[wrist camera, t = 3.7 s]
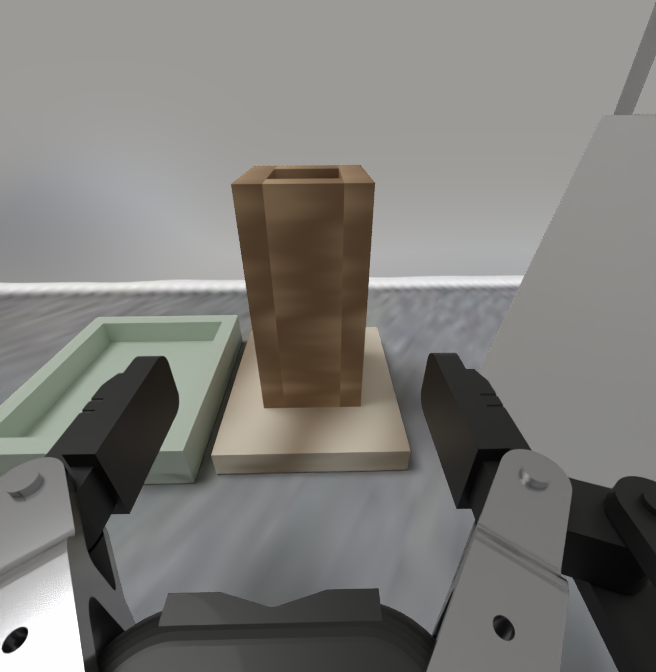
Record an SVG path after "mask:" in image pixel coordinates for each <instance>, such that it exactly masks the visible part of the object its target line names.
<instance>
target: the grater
mask: <svg viewBox="0 0 656 672" xmlns="http://www.w3.org/2000/svg"><path fill="white" fill-rule="evenodd" d="M655 56H656V3H655V6H654V9H653V11H652V14H651V16H650V19H649V22H648V25H647V27H646V30H645V32H644V35H643V38H642V40H641V43H640V46H639V48H638V51H637V54H636V56H635V59H634V62H633V64H632V67H631V70H630V72H629V75H628V78H627V80H626V83H625V86H624V89H623V91H622V94H621V96H620V99H619V102H618V104H617V107H616V110H615V112H614V115H602V116H601V118H600V120H599V122H598V124H597V126H596V128H595V131H594V132H593V135H592V137H591V139H590V141H589V143H588V145H587V147H586V149H585V151H584V153H583V155H582V157H581V160H580V162H579V164H578V166H577V168H576V170H575V172H574V174H573V176H572V178H571V180H570V182H569V185H568V187H567V189H566V191H565V193H564V195H563V197H562V199H561V201H560V203H559V205H558V207H557V209H556V212H555V214H554V216H553V218H552V220H551V222H550V224H549V226H548V228H547V230H546V232H545V234H544V237H543V239H542V241H541V243H540V245H539V247H538V249H537V251H536V253H535V255H534V257H533V259H532V262H531V264H530V266H529V268H528V270H527V272H526V274H525V276H524V278H523V280H522V282H521V284H520V286H519V289H518V291H517V293H516V295H515V297H514V299H513V301H512V303H511V305H510V307H509V309H508V311H507V314H506V316H505V318H504V320H503V322H502V324H501V326H500V328H499V330H498V332H497V334H496V336H495V339H494V341H493V343H492V345H491V347H490V349H489V351H488V353H487V355H486V357H485V359H484V361H483V363H482V366H481V368H480V370H479V372H478V373H479V374H481V375H482V376H483V377H484V378H486V379H487V380H488V381H489V383H490V384H491V386H492V388H493V389H494V391H495V392H496V396H498V397H499V399H500V400H501V402H502V403H503V407H505V408H506V410H507V411H508V413H509V415H510V416H511V418H512V419H513V421H514V423H515V424H516V426H517V427H518V429H519V431H520V432H521V434H522V435H523V437H524V439H525V440H526V442H527V443H528V445H529V447H530V448H531V450H532V451H535V452H537V453H540V454H542V455H544V456H546V457H548V458H549V459H551V460H552V461H554V462H555V463H556V464H557V465H558V466H560V467H561V468H562V470H563V471H564V472H565V473H566V475H567V476H568V477H570V478H573V479H576V480H580V481H584V482H588V483H592V484H596V485H600V486H604V487H608V488H613V486H614V485H615V484H616V482H617V481H618V480H619V479H621V478H623V477H626V476H638V477H643V478H647V479H650V480H653V481H655V482H656V114H645V115H644V114H638V115H636V114H635V115H632V113H633V111H634V108H635V106H636V103H637V101H638V98H639V96H640V93H641V91H642V88H643V85H644V83H645V81H646V78H647V76H648V73H649V71H650V68H651V66H652V63H653V61H654V58H655Z"/></svg>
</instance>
